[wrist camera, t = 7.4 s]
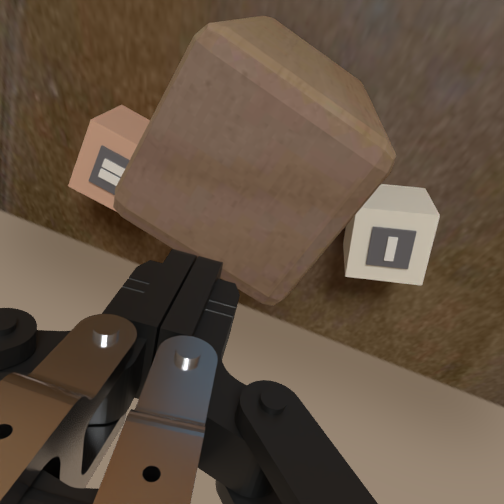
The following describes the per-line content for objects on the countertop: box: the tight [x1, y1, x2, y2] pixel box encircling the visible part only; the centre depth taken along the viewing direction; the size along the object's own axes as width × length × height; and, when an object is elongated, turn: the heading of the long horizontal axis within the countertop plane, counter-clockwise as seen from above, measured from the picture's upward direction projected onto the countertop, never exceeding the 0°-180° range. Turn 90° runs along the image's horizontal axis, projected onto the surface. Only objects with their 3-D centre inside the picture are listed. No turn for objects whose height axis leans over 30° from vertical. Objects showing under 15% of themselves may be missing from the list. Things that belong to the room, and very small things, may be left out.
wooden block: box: [113, 16, 396, 306], centre depth 30 cm, size 10×10×20 cm
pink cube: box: [68, 105, 150, 212], centre depth 39 cm, size 6×6×6 cm
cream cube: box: [343, 184, 440, 285], centre depth 39 cm, size 6×6×6 cm
